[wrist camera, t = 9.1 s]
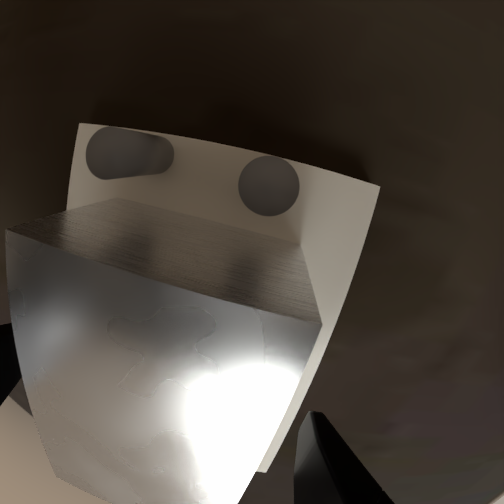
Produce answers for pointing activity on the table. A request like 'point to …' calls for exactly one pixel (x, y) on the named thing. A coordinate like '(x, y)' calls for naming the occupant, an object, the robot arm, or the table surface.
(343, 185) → the pin tray
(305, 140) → the table surface
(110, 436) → the block
